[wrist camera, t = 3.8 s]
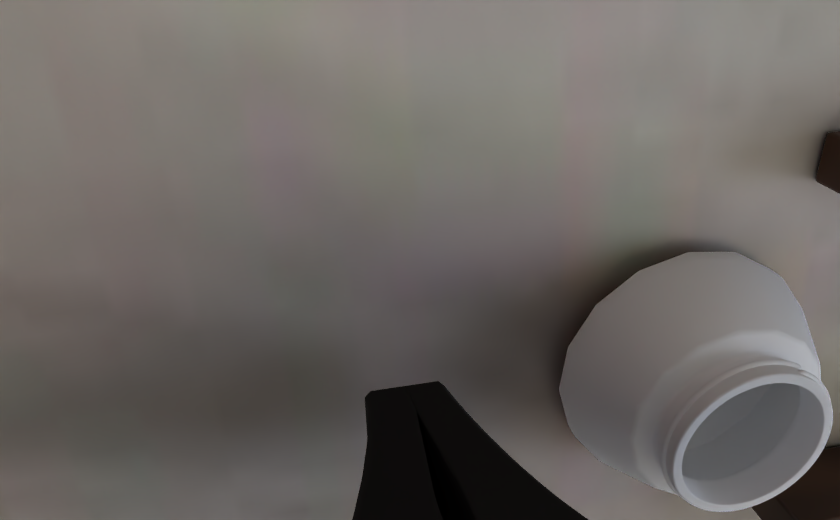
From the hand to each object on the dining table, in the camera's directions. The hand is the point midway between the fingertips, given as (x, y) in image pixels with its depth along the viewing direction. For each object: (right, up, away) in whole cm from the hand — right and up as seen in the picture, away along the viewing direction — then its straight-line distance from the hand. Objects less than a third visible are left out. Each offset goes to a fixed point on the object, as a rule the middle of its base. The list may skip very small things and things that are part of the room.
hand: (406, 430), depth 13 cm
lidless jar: (+5, +1, +2) cm, 6 cm away
